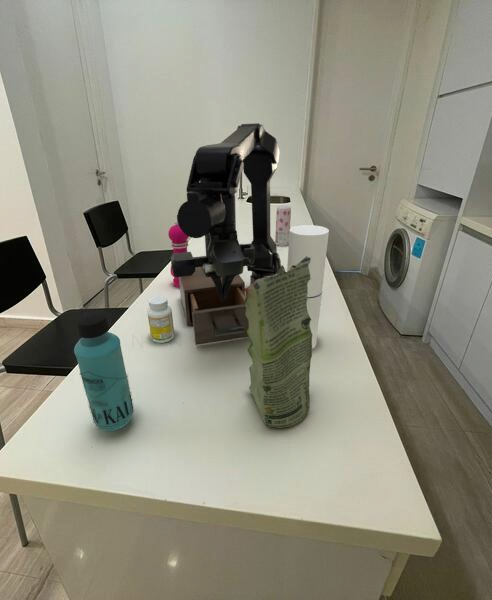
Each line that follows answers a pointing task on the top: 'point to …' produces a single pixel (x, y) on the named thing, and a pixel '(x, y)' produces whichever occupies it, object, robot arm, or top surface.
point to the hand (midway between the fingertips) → (222, 300)
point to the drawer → (218, 316)
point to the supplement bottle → (160, 319)
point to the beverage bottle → (103, 372)
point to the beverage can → (282, 225)
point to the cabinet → (200, 288)
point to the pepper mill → (177, 245)
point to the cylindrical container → (310, 265)
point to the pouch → (280, 344)
